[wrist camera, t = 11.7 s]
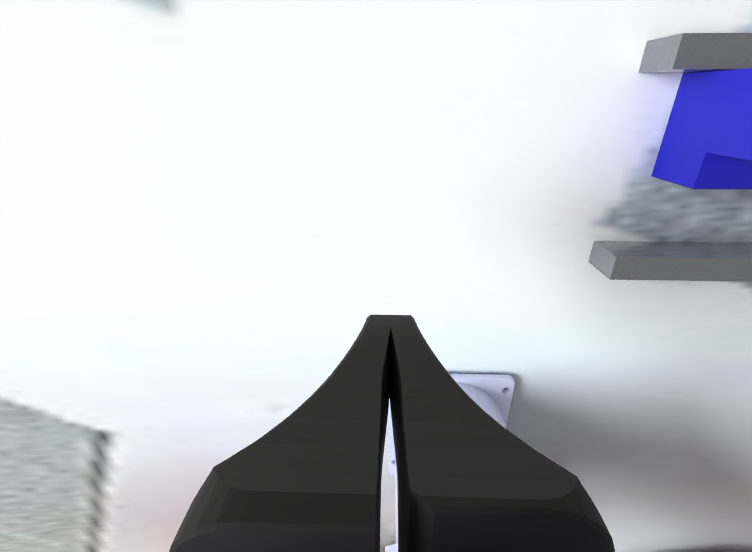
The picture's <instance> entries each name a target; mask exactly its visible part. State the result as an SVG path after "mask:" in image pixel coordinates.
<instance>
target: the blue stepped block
mask: <svg viewBox="0 0 752 552" xmlns="http://www.w3.org/2000/svg"><path fill="white" fill-rule="evenodd" d="M652 176H653V177H656V178H660V179H663V180H666V181H669V182H672V183H676V184H679V185H682V186H685V187H689V188H692V189H752V68H749V69H736V70H723V71H709V72H696V73H683V75H682V78H681V82H680V85H679V88H678V91H677V95H676V98H675V101H674V105H673V108H672V111H671V114H670V118H669V121H668V124H667V127H666V131H665V134H664V137H663V140H662V144H661V147H660V150H659V153H658V157H657V160H656V163H655V166H654V170H653V173H652Z"/></svg>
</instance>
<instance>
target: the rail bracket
mask: <svg viewBox="0 0 752 552" xmlns="http://www.w3.org/2000/svg"><path fill="white" fill-rule="evenodd" d="M749 68H752V33H683V34H678V35H674V36H669V37H664V38H660V39H655V40H651V41H647V44H646V48H645V52H644V55H643V59H642V63H641V67H640V71H639V73H694V72H709V71H723V70H736V69H749ZM589 262H590V263H591V264H592V265H593V266H594V267H596V268H597V269H598V270H599V271H600V272H602V273H603V274H604V275H605V276H606V277H608V278H609V279H617V280H689V281H752V243H693V242H598V241H594V244H593V248H592V252H591V256H590V260H589Z"/></svg>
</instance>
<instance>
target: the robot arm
mask: <svg viewBox="0 0 752 552" xmlns="http://www.w3.org/2000/svg"><path fill="white" fill-rule="evenodd" d="M514 387H515V381H514V379H513V377H512V376H510V375H493V374H449V373H448V372H447V371H446V369H445V368H444V367H443V365H442V364H441V363H440V361H439V360H438V359H437V357H436V356H435V354H434V353H433V351H432V350H431V348H430V347H429V345H428V344H427V342H426V341H425V339H424V337H423V336H422V334H421V332H420V330H419V328H418V326H417V324H416V322H415V320H414V318H413V317H412V316H411V315H370V316H369V317H368V318H367V319H366V322H365V324H364V326H363V328H362V330H361V332H360V334H359V336H358V337H357V339H356V341H355V342H354V344H353V345H352V347H351V348H350V350H349V351H348V353H347V354H346V356H345V357H344V358H343V360H342V361H341V362H340V364H339V365H338V366H337V368H336V369H335V370H334V371H333V373H332V374H331V375H330V376H329V377H328V379H327V380H326V381H325V382H324V383H323V384H322V385H321V386H320V387H319V388H318V389H317V391H316V392H315V393H314V394H313V395H312V396H311V397H309V398H308V399H307V400H306V401H305V402H304V403H303V404H302V405H301V406H300V407H299V408H298V409H297V410H295V411H294V412H293V413H292V414H291V415H290V416H289V417H287V418H286V419H285V420H284V421H282V422H281V423H280V424H278V425H277V426H276V427H274V428H273V429H272V430H270V431H269V432H268V433H267V434H265V435H264V436H263V437H261V438H260V439H258V440H257V441H255V442H254V443H252V444H251V445H249V446H247V447H246V448H244V449H243V450H241V451H239V452H238V453H236V454H235V455H233V456H231V457H230V458H228V459H227V460H225V461H223V462H222V463H220V464H218V465H216V466H215V467H214V468H213V469H212V471H211V472H210V474H209V476H208V477H207V479H206V481H205V482H204V484H203V485H202V487H201V488H200V490H199V492H198V493H197V495H196V497H195V498H194V500H193V502H192V504H191V506H190V508H189V510H188V512H187V514H186V516H185V518H184V520H183V522H182V524H181V526H180V528H179V531H178V533H177V535H176V537H175V539H174V541H173V543H172V545H171V548H170V551H169V552H380V507H381V475H382V463H383V453H384V444H385V435H386V426H387V417H388V408H389V437H388V473H389V474H391V475H394V476H395V498H396V544H392V545H388V546H386V547H385V552H615V549H614V545H613V541H612V537H611V535H610V533H609V531H608V529H607V527H606V525H605V523H604V521H603V519H602V517H601V515H600V513H599V512H598V510H597V508H596V506H595V505H594V503H593V501H592V500H591V498H590V497H589V495H588V493H587V492H586V490H585V489H584V487H583V486H582V484H581V482H580V481H579V479H578V477H577V476H575V475H574V474H572V473H570V472H569V471H567V470H566V469H564V468H562V467H561V466H559V465H558V464H556V463H555V462H553V461H551V460H550V459H548V458H547V457H545V456H543V455H542V454H540V453H539V452H537V451H536V450H534V449H533V448H531V447H530V446H528V445H527V444H526V443H524V442H523V441H521V440H520V439H519V438H517V437H516V436H515V435H513V434H512V433H511V432H509V431H508V430H507V429H506V426H507V421H508V416H509V411H510V407H511V402H512V397H513V392H514ZM504 388H507V389H504Z"/></svg>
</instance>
